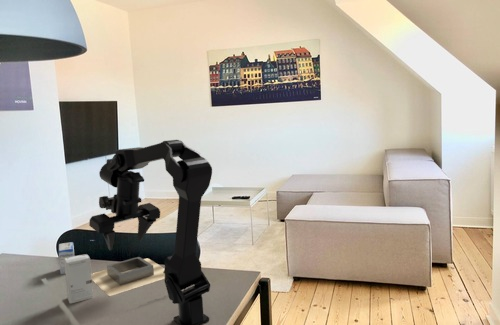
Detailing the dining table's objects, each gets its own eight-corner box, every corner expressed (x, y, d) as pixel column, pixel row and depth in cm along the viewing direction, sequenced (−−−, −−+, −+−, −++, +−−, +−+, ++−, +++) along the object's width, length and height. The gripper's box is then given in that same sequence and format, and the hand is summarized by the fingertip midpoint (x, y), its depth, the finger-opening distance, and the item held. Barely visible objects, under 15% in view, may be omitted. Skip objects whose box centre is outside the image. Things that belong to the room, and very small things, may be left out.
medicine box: (61, 269, 132) (58, 243, 131) (75, 266, 134) (73, 241, 133) (60, 277, 125) (58, 250, 124) (76, 274, 127) (73, 248, 126)
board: (175, 278, 120) (175, 275, 120) (109, 299, 108) (109, 296, 108) (147, 260, 136) (147, 258, 136) (87, 277, 124) (87, 274, 124)
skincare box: (70, 307, 105) (65, 263, 103) (67, 301, 108) (62, 258, 107) (94, 300, 108) (90, 257, 107) (91, 294, 112) (87, 253, 110)
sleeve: (153, 275, 121) (153, 265, 121) (120, 285, 114) (119, 275, 114) (140, 265, 129) (139, 256, 129) (107, 274, 123) (106, 265, 122)
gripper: (141, 178, 119) (138, 225, 124) (79, 189, 105) (79, 241, 110) (163, 190, 112) (159, 240, 117) (101, 204, 99) (99, 259, 103)
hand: (125, 244), depth 112 cm, fingers open, 9 cm apart
